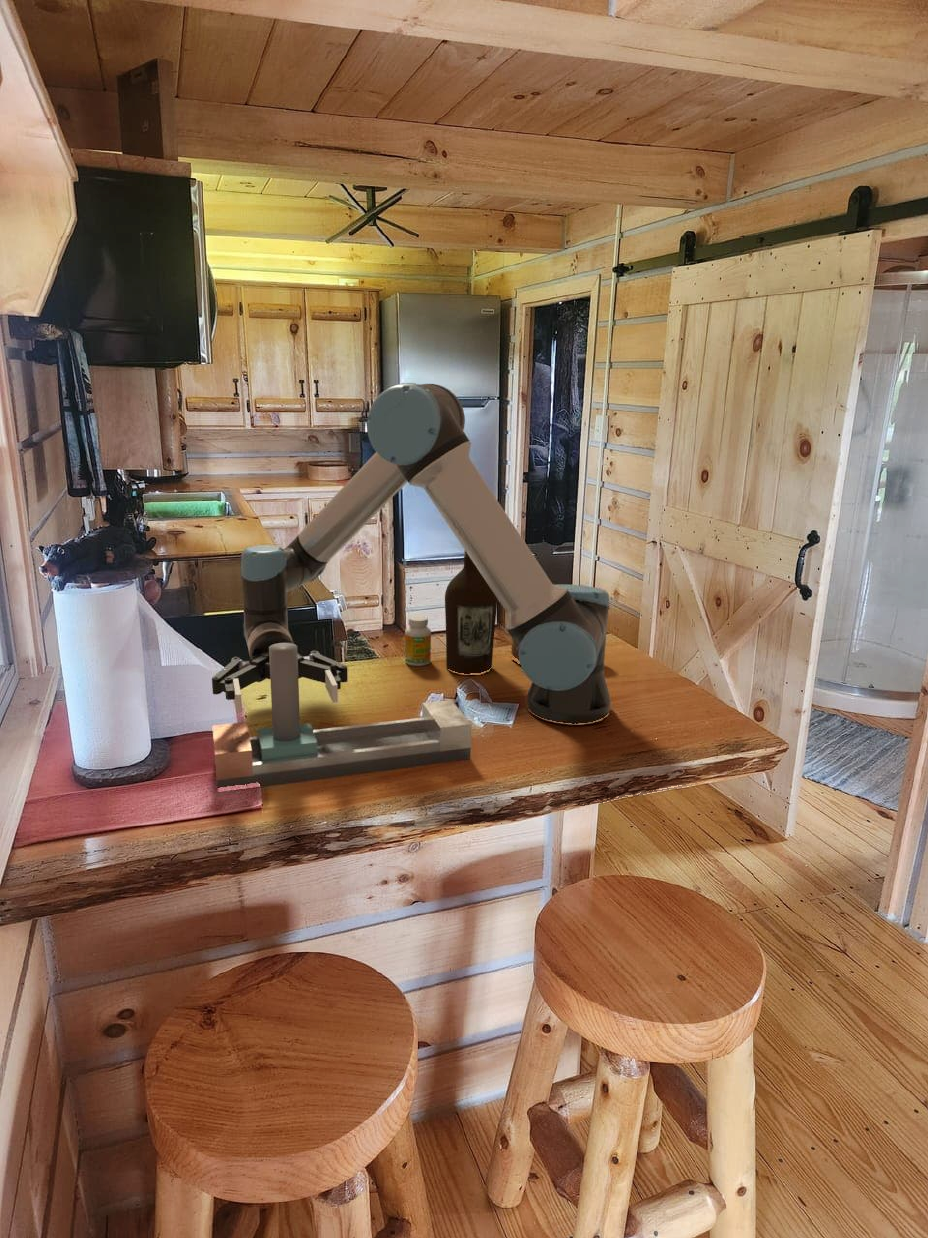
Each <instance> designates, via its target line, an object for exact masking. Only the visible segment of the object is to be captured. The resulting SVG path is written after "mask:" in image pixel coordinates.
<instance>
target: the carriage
mask: <svg viewBox="0 0 928 1238" xmlns="http://www.w3.org/2000/svg"><path fill="white" fill-rule="evenodd" d="M297 653H298V645H296V644H295V643H294V644H292V643H277V644H273V645H271V646H270V647H269V660H270V679H269V680H270V698H271V699H270V700H271V719H272V721H271V722H272V727H265V728H263V727H262V728H257V729H256V731H257V736H258V748H259V753H260V758H261V761H267V760H276V759H284V758H292V757H300V756H308V755H316V754H318V749H317V740H316V737H315V735H314V732H313V730H314V729H313V726H312V724H311V722H310V723H309V722H307V723H302V724H301V718H300V717H301V714H300V713H301V711H300V687H299V686H300V685H299V679H298V654H299V653H298V654H297Z"/></svg>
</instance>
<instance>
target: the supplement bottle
mask: <svg viewBox="0 0 928 1238" xmlns="http://www.w3.org/2000/svg"><path fill="white" fill-rule="evenodd" d="M407 622H408V625H409V626H407V627H406V628H405V631H404V661H406V662H405V664H407V665H409V666H412V667H413V666H414V667H423V666H426V665H429V664H430V663H431V660H432V659H431V658H432V657H431V654H432V653H431V652H432V651H431V650H432V647H431V646H432V644H431V643H432V631H431V628H430V627H428V624H429V623H428V622H429V618H428V617H427V616H425V615H411V616H408V621H407ZM405 658H407V659H405Z"/></svg>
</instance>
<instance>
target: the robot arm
mask: <svg viewBox="0 0 928 1238" xmlns="http://www.w3.org/2000/svg"><path fill="white" fill-rule="evenodd" d="M464 411H465V410H464V408H463V405H462V404H461V401H460V400H459V397H457V395H455V394H454V393H453V392H452V391H451V390H450V389H448V388H447V387H445V386H442V385H440V384H435V383H420V384H419V383H414V382H402V383H400V384H396V385H393V386H391V387H388V388H387V389H385V390H384V391H382V392H381V393H379V394H378V396H377V397H376V398H375V400H374V401H373V402H372V404H371V406H370V409H369V412H368V416H367V421H366V428H367V435H368V436H367V437H368V440H369V442H370V444H371V446H372V448H373V450H374V451H375V453H374V454H373V455H372V456H371V457H370V458H369V459H368V460H367V461H366V463H365V464H363V465H362V466H361V468H360V469H358V471H357V472H356V473H355V474H354V475H353V476H352V477H351V478H350V479H349V480H348V481H347V483H345V485H344V486H343V487H342V488H341V489H340V490H339V491H338V492H337V493H336V494H335V495H334V496H333V497H332V498H331V499H330V501H328V503H327V504H325V505H324V507H322V509H321V510H320V511H319V512H318V513H317V514H316V515H315V516H314V517H313V518H312V519H311V521H310V522H309V523H308V524H307V525H306V526H305V527H304V528H303V529H302V530H301V531H300V532H299V534H297V536H296V537H295V538H294V539H293V540H292V541H291V542H290V543H289V544H288V545H286V547H284V548H283V547H280V546H278V545H270V544H259V545H254V546H249V547H245V548H244V549H243V551H242V553H241V560H240V562H241V564H240V565H241V567H240V575H241V588H242V589H241V590H242V591H241V592H242V601H243V602H242V603H243V625H242V629H243V638H244V640H245V641H246V642H245V643H246V645H247V648H248V654H249V660H245V661H243V659H241V658H240V657H238V656H234V657H231V660H230V662H229V663H228V664H227V665H225V666H224V667H223V668H224V669H226V670H224V669H223V668H222V669H221V670H220V671H218V672H217V673H216V674H215V675H213V676H212V677H211V685H212V686H211V687H212V694H213V695H220V694H222V693H225V700H227V701H232V700H234V704H235V711H236V713H243V707H242V705H243V703H242V693H241V692H242V691H241V690H243V689H244V688H247V687H248V686H250V685H252V684H254V683H261V682H263V681H265V680H270V660H269V647H270V646H271V645H273V644H277V643H292V644H295V643H294V640H293V638H292V635H291V634H290V631H289V623H288V622H289V620H288V593H289V592H291V591H293V590H295V589H297V588H299V587H301V586H303V585H305V584H307V583H310V582H312V581H314V580H316V579H317V578H318V577H319V576H321V575H322V574H323V573H324V571H325V570H326V567H327V564H328V563H329V562H330V561H331V560H332V559H333V557H335V556H336V554H337V553H339V551H341V549H343V547H345V546H346V545H347V544H348V543H349V541H351V540H352V538H354V536H355V535H357V534H358V533H359V532H360V531H361V529H362V528H364V526H366V524H368V523H369V521H371V519H372V518H373V517H375V515H376V514H378V513H379V512H380V510H381V509H382V508H383V507H384V506H385V505H386V504H387V503H389V502H390V500H391V499H392V498H393V497H394V496H395V495H397V493H398V492H399V491H401V489H402V488H403V487H404V486H405V485H406V484H407V483H408V484H409V485H410V486H413V487H417V488H418V487H419V488H421V489H423V490H424V491H425V493H426V494H427V495H428V497H429V498H430V499H431V501H432V503H433V504H434V506H435V507H436V509H437V510H438V512H439V513H440V515H441V517H442V518H443V519H444V520H445V522H446V524H447V526H448V527H449V529H450V530H451V531H452V533H453V534H454V536H455V537H456V539H457V541H458V542H459V543H460V545H461V546H462V548H463V549H464V552H465V551H466V552H467V554H468V555H469V557H470V558H471V560H472V561H473V563H474V564H475V566H476V567H477V569H478V570H479V572H480V573H481V575H482V576H483V578H484V579H485V581H486V582H487V584H488V585H489V587H490V588H491V590H492V591H493V593H494V594H495V596H496V597H497V601H499V604H500V605H501V606H502V608H503V609H504V611H505V612H506V616H507V617H506V621H505V622H506V623H505V629H506V631H507V632H508V634H509V635H510V636H511V639H512V638H513V640H514V641H515V643H516V644H517V646H518V647H519V661H520V665H521V666H520V665H519V666H520V668H521V670H522V672H523V673H524V675H525V676H526V677H527V678H528V679H529V681H531V684H530V687H529V689H528V692H527V694H526V705H527V706H526V709H527V708H528V709H529V710H530V711H531V712H532V713H534V714H535V715H537V716H539V717H541V718H544V719H547V720H552V721H556V722H563V723H572V724H575V723H576V724H578V723H588V722H593V721H596V720H599V719H601V718H604V717H605V716H606V715H607V714H608V713H609V711H610V712H611V704H612V703H611V697H610V693H609V689H608V685H607V682H606V677H605V673H604V667H605V657H606V645H607V644H606V643H607V642H606V641H607V630H608V617H609V610H610V609H611V605H610V596H609V593H608V592H607V591H606V590H605V589H602V588H600V587H599V588H598V587H595V586H587V585H579V584H563V583H561V584H559V583H558V584H553V583H552V581H551V579H549V577H548V575H547V574H546V572H545V570H544V569H543V567H542V566H541V565H540V563H539V561H538V560H537V558H536V556H535V555H534V554H533V552H532V551H531V549H530V547H529V546H528V545H527V544H526V542H525V540H524V538H523V537H522V535H521V534H520V533H519V531H518V530H517V528H516V527H515V525H514V524H513V522H512V521H511V519H510V517H509V516H508V515H507V513H506V511H505V510H504V508H503V507H502V505H501V504H500V502H499V501H498V499H497V498H496V496H495V495H494V493H493V492H492V491H491V490H492V489H491V488H490V487H489V486H488V484H487V482H486V481H485V479H484V478H483V477H482V475H481V473H480V472H479V470H478V469H477V468H476V466H475V464H474V463H473V462H472V460H471V458H470V452H471V446H472V442H471V440H470V439H469V438H468V436H467V435H466V433H465V432H464V430H465V424H466V423H465V422H466V418H465V412H464ZM297 654H298V680H300V679H301V678H305V679H308V680H312V681H316V682H319V683H323V684H325V689H326V691H327V694H328V695H329V697H330V700H331V701H332V703H339V697H338V696H339V693H338V691H339V690H341V687H342V683H348V681H349V680H348V679H349V678H348V665H346V664H343V663H341V662H339V661H337V660H334V659H331V658H329V657H327V656H324V655H323V654H320V652H319V651H318V650H312V651H310V654H309V655H308V656H307V655H306V656H303V655H301V654H300V653H298V652H297Z"/></svg>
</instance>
